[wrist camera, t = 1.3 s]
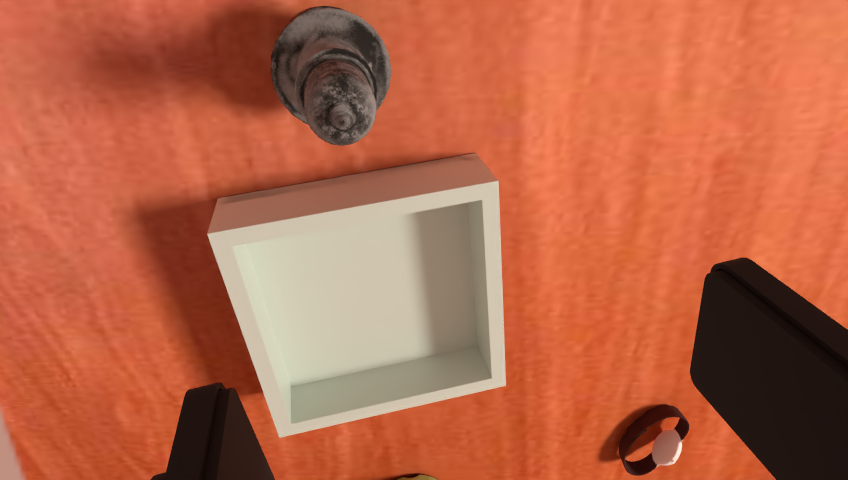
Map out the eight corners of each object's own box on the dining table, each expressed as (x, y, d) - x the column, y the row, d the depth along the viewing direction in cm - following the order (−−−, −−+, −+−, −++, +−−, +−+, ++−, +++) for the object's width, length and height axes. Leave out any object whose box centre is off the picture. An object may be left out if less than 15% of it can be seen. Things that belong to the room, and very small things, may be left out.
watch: (636, 460, 54) (656, 492, 51) (602, 450, 52) (621, 483, 49) (686, 406, 52) (711, 436, 49) (652, 394, 50) (676, 425, 47)
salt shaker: (265, 97, 30) (248, 182, 20) (283, -15, 28) (275, 16, 18) (367, 121, 32) (400, 210, 22) (393, 17, 30) (444, 63, 19)
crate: (217, 198, 32) (207, 233, 29) (476, 152, 34) (498, 180, 31) (281, 389, 41) (279, 437, 37) (487, 344, 42) (505, 385, 39)
